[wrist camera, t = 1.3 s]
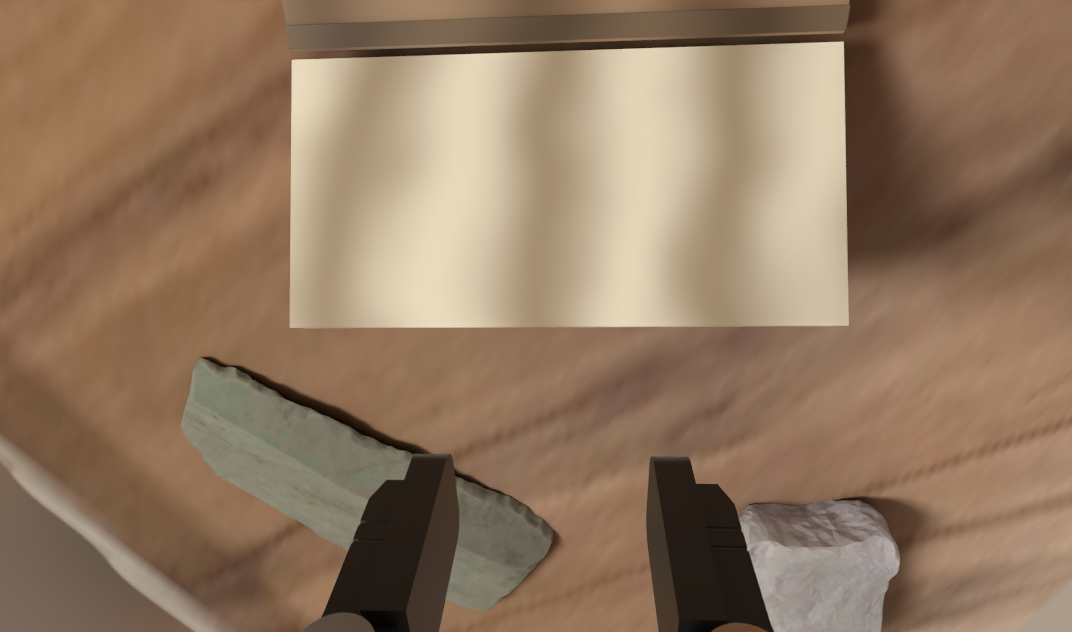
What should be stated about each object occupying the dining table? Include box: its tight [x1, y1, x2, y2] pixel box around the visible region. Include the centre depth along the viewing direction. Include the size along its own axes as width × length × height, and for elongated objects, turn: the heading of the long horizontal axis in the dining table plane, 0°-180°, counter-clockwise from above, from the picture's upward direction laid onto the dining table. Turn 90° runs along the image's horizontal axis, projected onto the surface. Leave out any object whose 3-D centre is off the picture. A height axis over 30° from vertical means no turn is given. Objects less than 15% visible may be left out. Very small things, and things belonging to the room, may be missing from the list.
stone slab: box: [180, 358, 554, 611], centre depth 37 cm, size 22×3×10 cm
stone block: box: [738, 500, 900, 632], centre depth 37 cm, size 12×5×10 cm
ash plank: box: [290, 42, 849, 328], centre depth 23 cm, size 20×10×2 cm, turn 92°
